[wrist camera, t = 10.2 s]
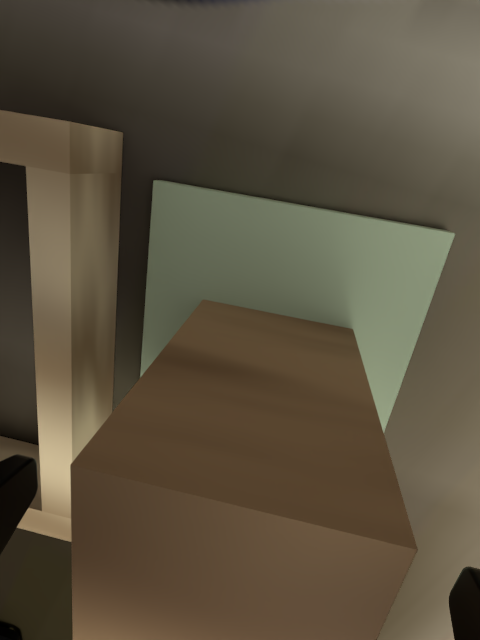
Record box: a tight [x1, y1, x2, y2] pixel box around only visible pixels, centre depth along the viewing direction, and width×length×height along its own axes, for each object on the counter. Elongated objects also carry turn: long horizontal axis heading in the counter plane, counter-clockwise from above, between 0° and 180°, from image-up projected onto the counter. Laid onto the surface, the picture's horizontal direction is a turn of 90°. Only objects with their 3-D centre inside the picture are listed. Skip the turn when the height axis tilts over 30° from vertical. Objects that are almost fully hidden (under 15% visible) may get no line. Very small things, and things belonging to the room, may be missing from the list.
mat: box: [140, 180, 455, 433], centre depth 14 cm, size 12×9×1 cm
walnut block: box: [70, 299, 418, 640], centre depth 10 cm, size 5×5×8 cm
